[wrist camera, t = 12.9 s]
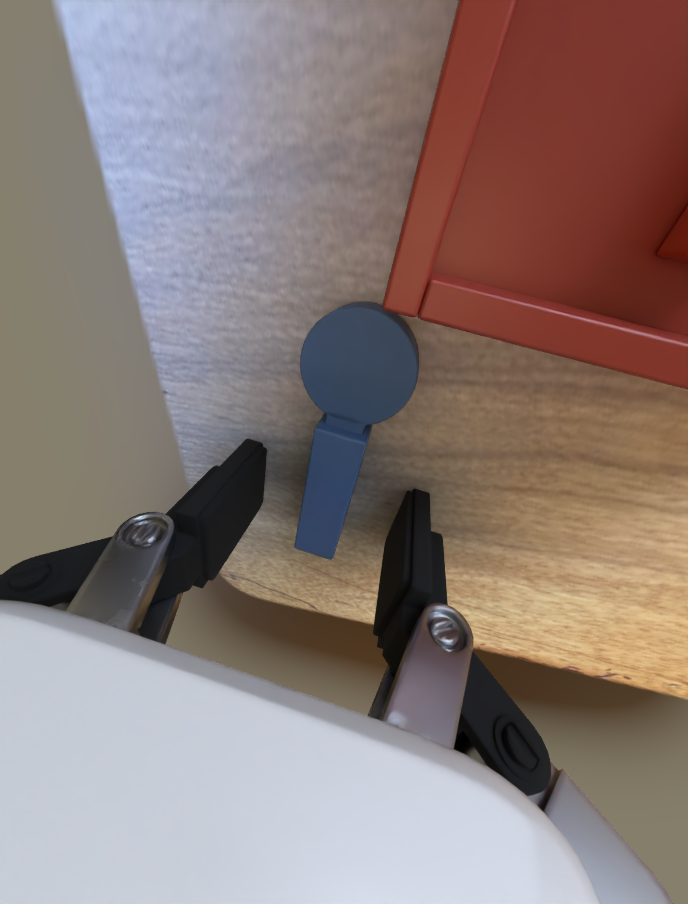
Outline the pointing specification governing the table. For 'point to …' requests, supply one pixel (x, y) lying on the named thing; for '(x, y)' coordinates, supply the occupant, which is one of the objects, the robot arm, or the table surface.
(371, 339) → the blue spoon
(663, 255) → the red spoon
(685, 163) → the red bin
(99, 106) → the table surface
